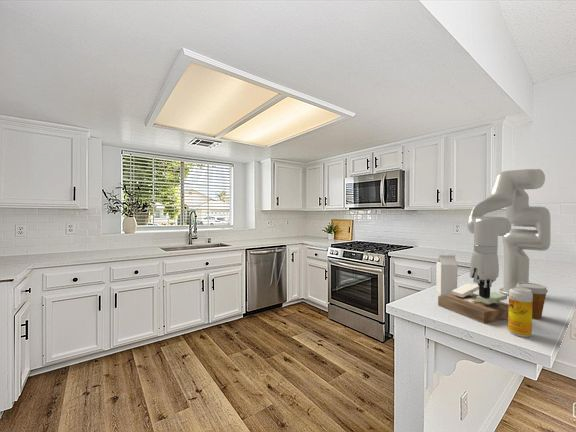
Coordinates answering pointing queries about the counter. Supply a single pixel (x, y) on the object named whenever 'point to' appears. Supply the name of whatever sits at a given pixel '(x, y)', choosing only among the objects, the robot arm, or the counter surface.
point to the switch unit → (474, 308)
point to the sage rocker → (492, 298)
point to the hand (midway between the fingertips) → (484, 296)
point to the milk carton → (446, 274)
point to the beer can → (520, 311)
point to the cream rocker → (465, 290)
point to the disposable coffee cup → (536, 297)
